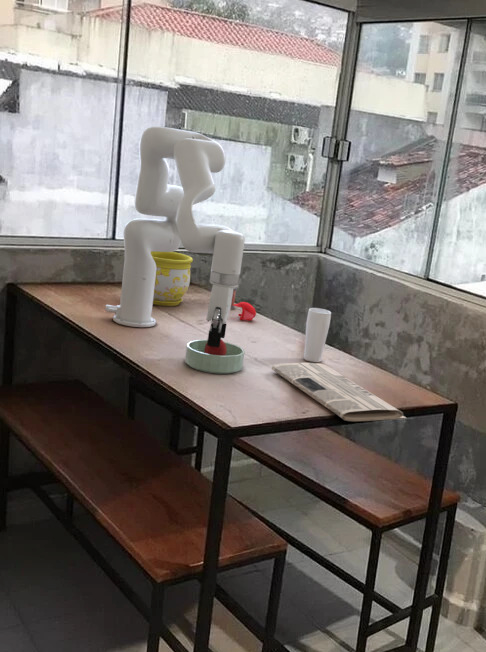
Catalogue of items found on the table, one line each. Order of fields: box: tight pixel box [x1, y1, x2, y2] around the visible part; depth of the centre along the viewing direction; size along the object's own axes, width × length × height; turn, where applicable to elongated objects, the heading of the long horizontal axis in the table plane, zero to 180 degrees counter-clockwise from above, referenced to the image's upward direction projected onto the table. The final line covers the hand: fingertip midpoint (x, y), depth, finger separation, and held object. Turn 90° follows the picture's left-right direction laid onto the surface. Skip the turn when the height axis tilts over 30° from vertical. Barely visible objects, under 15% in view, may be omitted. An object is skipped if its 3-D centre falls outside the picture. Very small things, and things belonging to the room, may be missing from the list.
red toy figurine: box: [234, 301, 257, 322], centre depth 273 cm, size 8×6×6 cm
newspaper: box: [271, 362, 409, 422], centre depth 208 cm, size 37×19×3 cm, turn 31°
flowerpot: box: [151, 251, 194, 307], centre depth 278 cm, size 18×18×16 cm
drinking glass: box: [303, 307, 332, 363], centre depth 236 cm, size 7×7×15 cm
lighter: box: [230, 287, 238, 310], centre depth 288 cm, size 8×3×10 cm, turn 58°
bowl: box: [184, 339, 246, 375], centre depth 215 cm, size 15×15×5 cm
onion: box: [204, 339, 227, 356], centre depth 215 cm, size 6×6×8 cm
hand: (216, 341), depth 215 cm, fingers open, 9 cm apart
